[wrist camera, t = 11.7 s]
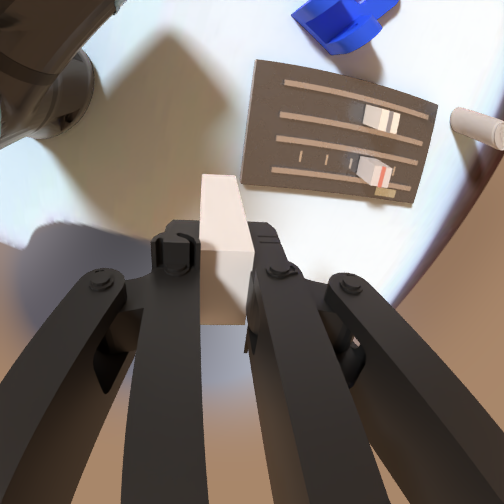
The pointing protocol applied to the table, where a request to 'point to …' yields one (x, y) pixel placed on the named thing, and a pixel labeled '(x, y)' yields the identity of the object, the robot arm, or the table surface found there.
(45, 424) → the robot arm
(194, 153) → the table surface
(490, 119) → the beverage can
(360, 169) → the fader
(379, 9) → the bracket
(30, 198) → the table surface
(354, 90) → the console
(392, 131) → the fader
